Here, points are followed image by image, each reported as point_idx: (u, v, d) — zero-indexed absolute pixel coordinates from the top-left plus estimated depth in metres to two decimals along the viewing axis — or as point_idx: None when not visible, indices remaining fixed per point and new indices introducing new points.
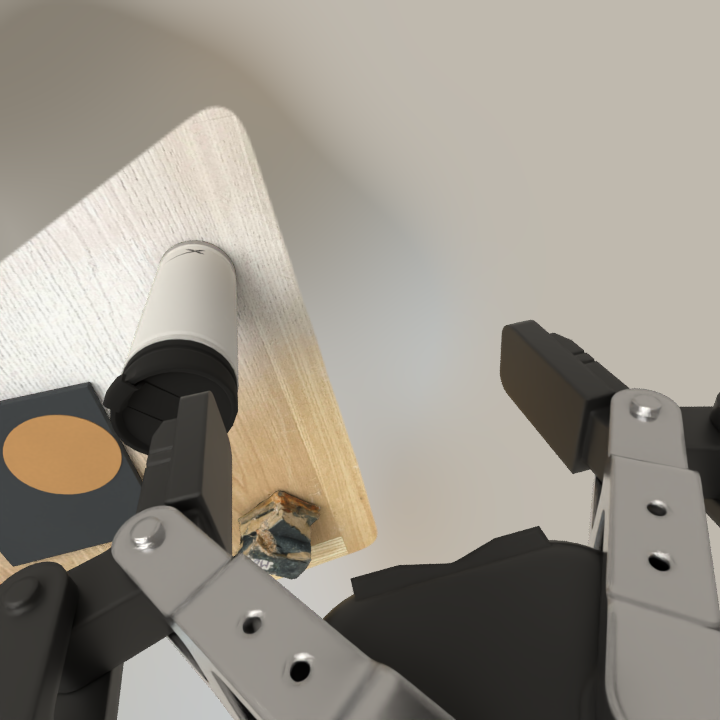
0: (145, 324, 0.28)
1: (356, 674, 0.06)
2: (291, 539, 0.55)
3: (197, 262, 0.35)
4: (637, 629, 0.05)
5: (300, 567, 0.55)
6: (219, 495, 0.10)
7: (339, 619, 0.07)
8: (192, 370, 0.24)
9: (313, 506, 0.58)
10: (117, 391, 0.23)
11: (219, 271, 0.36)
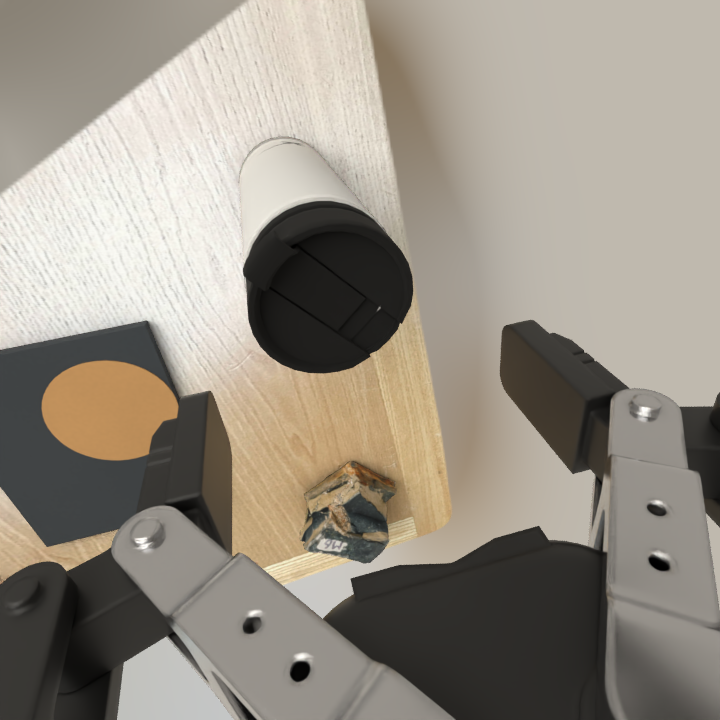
0: (268, 196, 0.20)
1: (357, 674, 0.06)
2: (366, 517, 0.48)
3: (303, 150, 0.28)
4: (637, 629, 0.05)
5: (376, 549, 0.48)
6: (219, 495, 0.10)
7: (339, 619, 0.07)
8: (370, 230, 0.16)
9: (388, 480, 0.50)
10: (267, 254, 0.15)
11: None
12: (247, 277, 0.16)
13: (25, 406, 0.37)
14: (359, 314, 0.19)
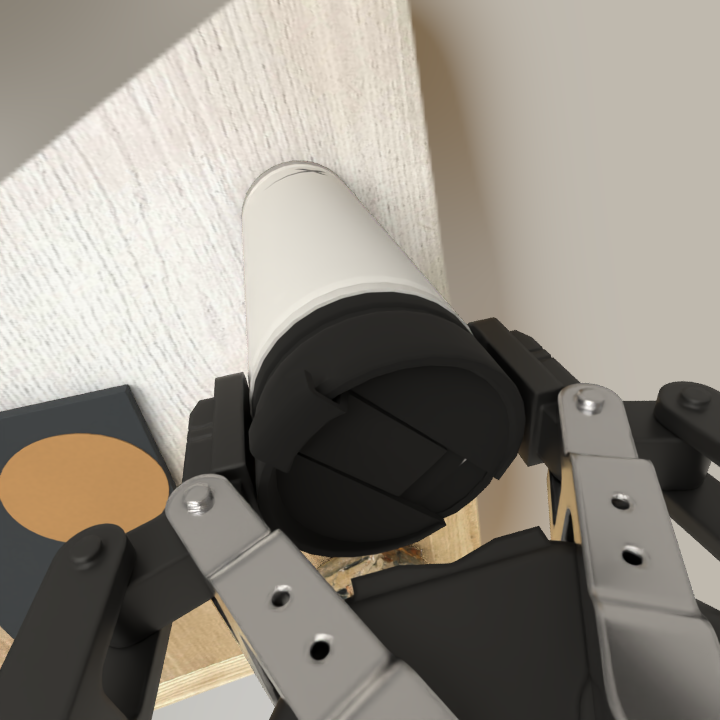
0: (286, 269, 0.14)
1: (373, 663, 0.06)
2: None
3: (326, 183, 0.21)
4: (637, 629, 0.05)
5: None
6: None
7: None
8: (472, 361, 0.09)
9: (413, 549, 0.43)
10: (294, 418, 0.08)
11: None
12: (256, 455, 0.09)
13: None
14: (434, 469, 0.12)
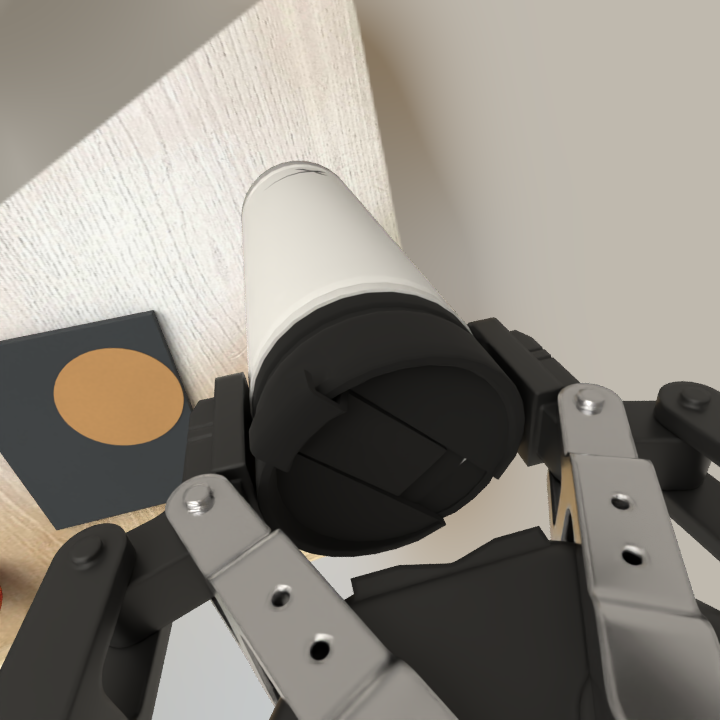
0: (286, 269, 0.14)
1: (373, 663, 0.06)
2: None
3: (326, 183, 0.21)
4: (637, 629, 0.05)
5: None
6: None
7: None
8: (471, 361, 0.09)
9: None
10: (294, 418, 0.08)
11: None
12: (257, 455, 0.09)
13: (38, 391, 0.39)
14: (433, 469, 0.12)
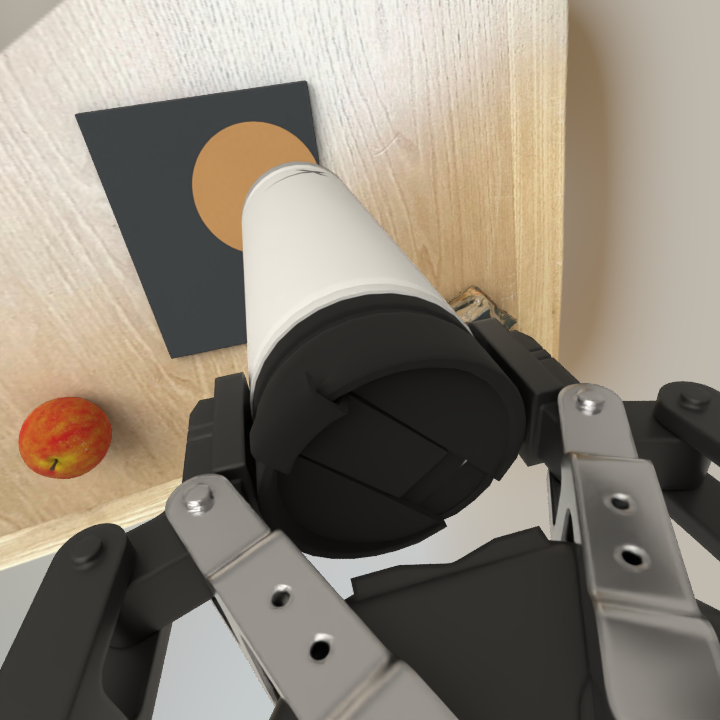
0: (286, 270, 0.14)
1: (373, 663, 0.06)
2: None
3: (327, 184, 0.21)
4: (637, 629, 0.05)
5: None
6: None
7: None
8: (472, 363, 0.09)
9: (505, 313, 0.49)
10: (295, 420, 0.08)
11: (359, 201, 0.21)
12: (257, 457, 0.09)
13: (177, 172, 0.36)
14: (434, 470, 0.12)
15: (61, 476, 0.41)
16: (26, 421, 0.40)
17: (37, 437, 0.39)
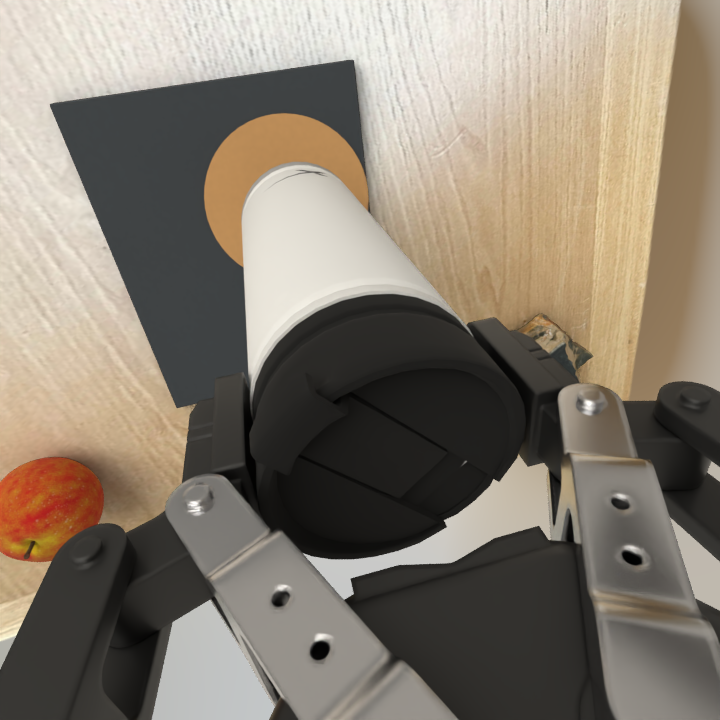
0: (286, 271, 0.14)
1: (373, 663, 0.06)
2: None
3: (326, 184, 0.21)
4: (637, 629, 0.05)
5: None
6: None
7: None
8: (472, 364, 0.09)
9: (576, 344, 0.41)
10: (295, 421, 0.08)
11: None
12: (257, 458, 0.09)
13: (184, 179, 0.28)
14: (434, 471, 0.12)
15: (39, 560, 0.33)
16: None
17: (7, 516, 0.31)
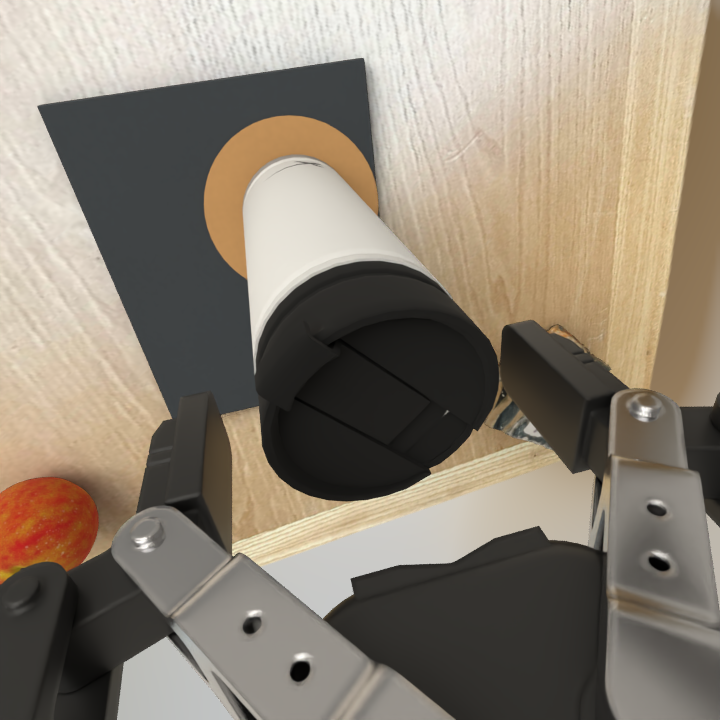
0: (286, 246, 0.15)
1: (356, 674, 0.06)
2: None
3: (323, 173, 0.22)
4: (637, 629, 0.05)
5: None
6: (219, 495, 0.10)
7: (339, 619, 0.07)
8: (448, 315, 0.11)
9: (593, 356, 0.39)
10: (294, 360, 0.10)
11: None
12: (262, 394, 0.10)
13: (183, 186, 0.26)
14: (418, 420, 0.13)
15: None
16: None
17: None
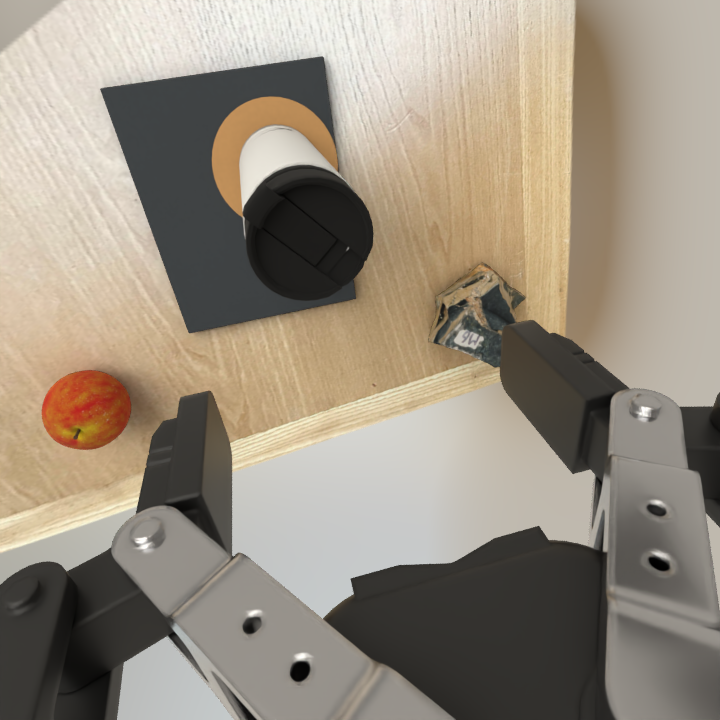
0: (262, 165, 0.26)
1: (356, 674, 0.06)
2: (499, 316, 0.48)
3: (292, 134, 0.33)
4: (637, 629, 0.05)
5: None
6: (219, 495, 0.10)
7: (339, 619, 0.07)
8: (337, 183, 0.22)
9: None
10: (260, 199, 0.21)
11: None
12: (245, 217, 0.21)
13: (197, 146, 0.37)
14: (332, 253, 0.24)
15: (83, 446, 0.42)
16: (49, 392, 0.41)
17: (60, 407, 0.40)
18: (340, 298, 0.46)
